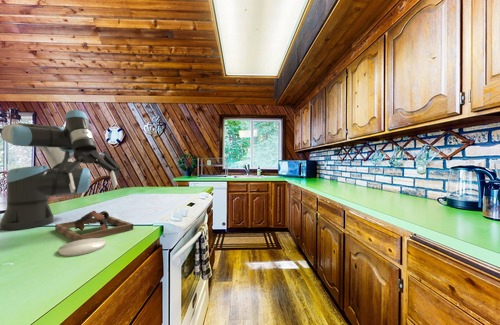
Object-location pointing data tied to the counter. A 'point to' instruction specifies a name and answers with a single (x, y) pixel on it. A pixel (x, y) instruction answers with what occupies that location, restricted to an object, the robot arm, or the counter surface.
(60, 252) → the white dome
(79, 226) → the brown hollow round piece
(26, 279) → the counter surface
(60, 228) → the walnut frame
